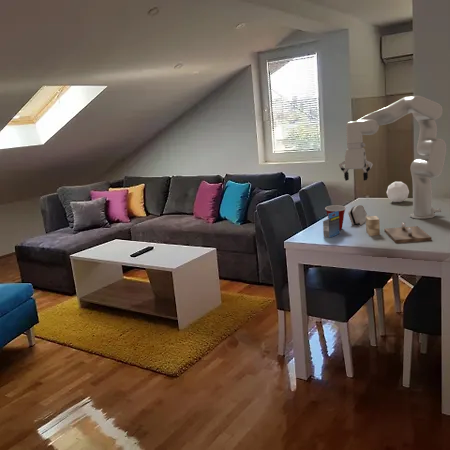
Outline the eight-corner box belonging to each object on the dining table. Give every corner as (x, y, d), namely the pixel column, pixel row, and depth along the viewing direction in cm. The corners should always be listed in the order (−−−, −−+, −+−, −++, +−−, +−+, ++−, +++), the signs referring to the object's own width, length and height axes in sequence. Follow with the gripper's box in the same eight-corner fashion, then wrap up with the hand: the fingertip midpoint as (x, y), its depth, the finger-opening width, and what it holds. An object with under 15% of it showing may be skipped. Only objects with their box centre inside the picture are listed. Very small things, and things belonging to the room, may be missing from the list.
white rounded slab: (361, 225, 264) (354, 207, 264) (353, 227, 267) (346, 210, 267) (370, 218, 278) (364, 201, 277) (363, 220, 280) (356, 204, 280)
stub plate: (417, 229, 245) (417, 219, 244) (431, 240, 224) (431, 229, 223) (384, 231, 247) (384, 221, 246) (395, 243, 226) (395, 232, 224)
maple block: (376, 231, 249) (375, 215, 248) (379, 235, 242) (379, 219, 240) (366, 232, 250) (365, 216, 248) (369, 235, 242) (368, 220, 240)
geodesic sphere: (409, 195, 300) (408, 175, 305) (385, 196, 305) (385, 177, 310) (409, 205, 312) (409, 186, 317) (386, 206, 317) (387, 187, 322)
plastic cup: (332, 232, 254) (331, 210, 252) (322, 228, 265) (321, 207, 262) (351, 229, 257) (350, 207, 255) (340, 225, 267) (339, 204, 265)
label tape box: (333, 233, 254) (332, 209, 251) (340, 234, 251) (339, 210, 248) (323, 237, 248) (321, 213, 246) (330, 238, 245) (328, 214, 243)
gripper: (374, 144, 245) (375, 179, 249) (341, 146, 255) (342, 179, 259) (369, 146, 240) (370, 181, 243) (335, 147, 249) (337, 181, 253)
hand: (356, 180), depth 251 cm, fingers open, 9 cm apart
